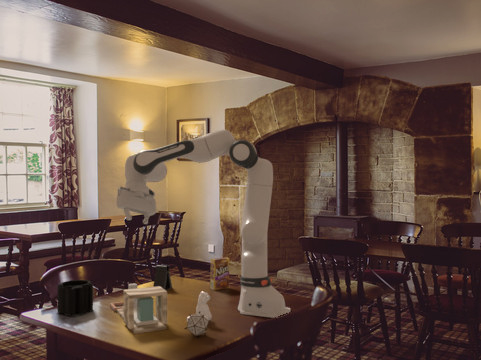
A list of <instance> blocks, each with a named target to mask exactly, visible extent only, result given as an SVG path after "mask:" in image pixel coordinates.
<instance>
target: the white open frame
mask: <svg viewBox="0 0 481 360" xmlns="http://www.w3.org/2000/svg"><path fill="white" fill-rule="evenodd" d="M127 286H128V288H127V289H136V288H138V284H137V283H136V282H134V283H128V285H127ZM122 309H123V310H124V306H122ZM154 311H155V310H154V297H153V296H151V297H142V298H134V323H135V324H136V325H137V326H141V325H148V324H156V323H158V319H157V318H156V317H155V316H156V315H155V314H154V313H155V312H154ZM154 315H155V316H154Z"/></svg>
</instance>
